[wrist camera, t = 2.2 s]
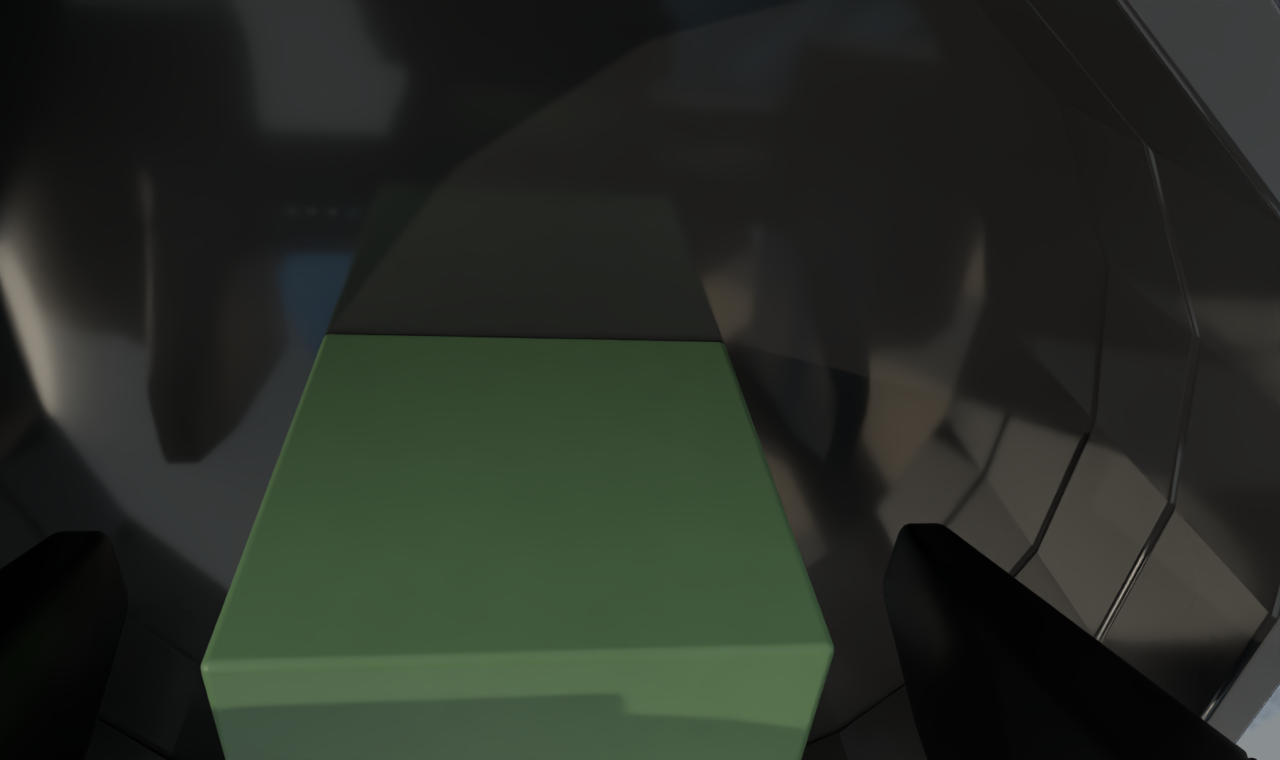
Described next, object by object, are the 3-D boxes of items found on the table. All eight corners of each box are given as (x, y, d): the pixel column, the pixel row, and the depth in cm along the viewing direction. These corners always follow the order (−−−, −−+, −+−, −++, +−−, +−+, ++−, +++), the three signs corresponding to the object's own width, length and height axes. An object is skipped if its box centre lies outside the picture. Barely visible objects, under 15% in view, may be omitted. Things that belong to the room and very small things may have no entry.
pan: (1388, -198, 7) (1939, -196, 5) (936, 787, 15) (1033, 1021, 12) (-598, -436, 6) (-1858, -696, 3) (40, 833, 13) (-98, 1126, 10)
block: (725, 339, 9) (839, 649, 6) (682, 608, 11) (747, 946, 8) (322, 330, 9) (193, 669, 5) (357, 615, 11) (282, 982, 7)
